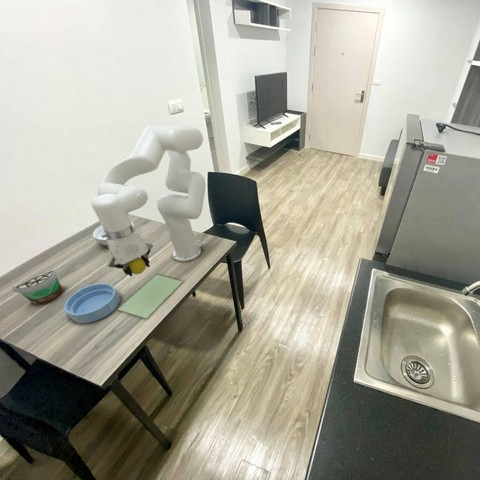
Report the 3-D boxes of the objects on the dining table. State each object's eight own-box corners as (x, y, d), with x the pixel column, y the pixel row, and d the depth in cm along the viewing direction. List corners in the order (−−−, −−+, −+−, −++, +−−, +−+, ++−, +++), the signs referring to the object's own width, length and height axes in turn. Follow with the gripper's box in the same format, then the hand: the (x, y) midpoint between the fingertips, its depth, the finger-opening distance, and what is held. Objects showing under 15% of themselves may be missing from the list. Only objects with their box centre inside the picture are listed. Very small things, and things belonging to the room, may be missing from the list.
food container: (33, 312, 96) (16, 294, 90) (26, 305, 98) (10, 286, 93) (73, 292, 105) (60, 274, 99) (66, 285, 107) (53, 267, 101)
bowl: (113, 286, 109) (108, 277, 106) (125, 307, 101) (120, 298, 98) (66, 306, 99) (60, 297, 96) (76, 331, 92) (69, 322, 89)
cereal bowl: (116, 228, 140) (111, 217, 136) (145, 233, 139) (141, 222, 134) (90, 248, 126) (83, 236, 122) (122, 253, 125) (116, 241, 121)
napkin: (157, 275, 115) (156, 274, 115) (182, 282, 113) (182, 281, 113) (117, 309, 100) (117, 309, 100) (146, 318, 98) (146, 318, 97)
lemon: (141, 279, 96) (133, 263, 92) (128, 276, 97) (119, 260, 92) (152, 269, 101) (145, 254, 96) (139, 267, 101) (131, 251, 97)
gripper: (96, 247, 79) (119, 287, 90) (151, 223, 91) (166, 261, 102) (84, 238, 83) (108, 278, 93) (140, 216, 94) (155, 254, 105)
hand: (138, 269), depth 98 cm, fingers closed on lemon, 5 cm apart
